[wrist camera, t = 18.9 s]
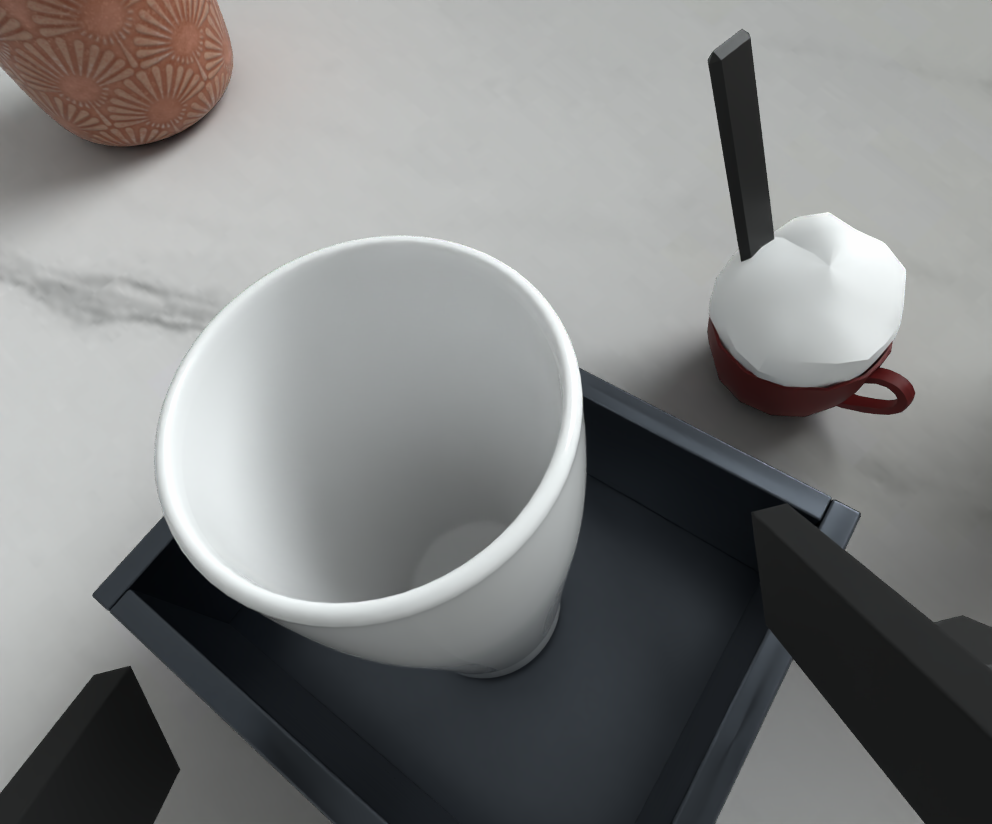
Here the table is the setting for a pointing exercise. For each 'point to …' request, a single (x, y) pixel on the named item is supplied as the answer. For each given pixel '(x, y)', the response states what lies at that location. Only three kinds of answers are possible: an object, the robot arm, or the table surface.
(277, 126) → the table surface
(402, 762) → the dark storage bin
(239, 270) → the table surface
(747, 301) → the cocoa
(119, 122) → the planter
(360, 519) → the white cup
